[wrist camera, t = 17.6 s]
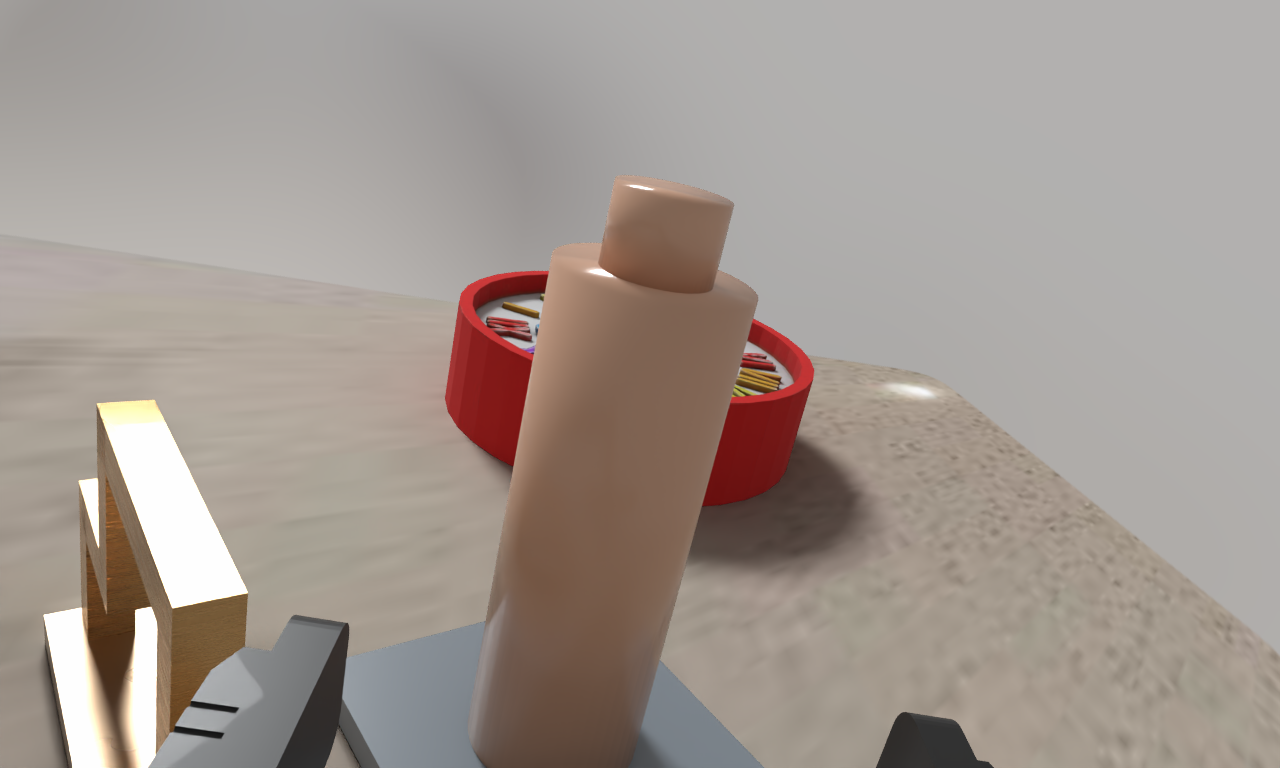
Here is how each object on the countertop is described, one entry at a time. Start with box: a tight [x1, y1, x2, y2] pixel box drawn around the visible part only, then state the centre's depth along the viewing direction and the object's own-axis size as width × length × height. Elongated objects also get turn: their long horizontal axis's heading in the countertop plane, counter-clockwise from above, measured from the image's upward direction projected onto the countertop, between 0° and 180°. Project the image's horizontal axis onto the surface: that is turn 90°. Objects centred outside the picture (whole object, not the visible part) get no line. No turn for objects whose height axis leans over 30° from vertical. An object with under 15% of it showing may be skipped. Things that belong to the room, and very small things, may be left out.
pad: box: [339, 621, 764, 768], centre depth 26 cm, size 10×10×1 cm
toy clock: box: [445, 271, 814, 506], centre depth 50 cm, size 20×6×20 cm
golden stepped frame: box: [44, 400, 248, 768], centre depth 20 cm, size 16×3×10 cm, turn 37°
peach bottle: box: [467, 175, 758, 768], centre depth 23 cm, size 5×5×16 cm
